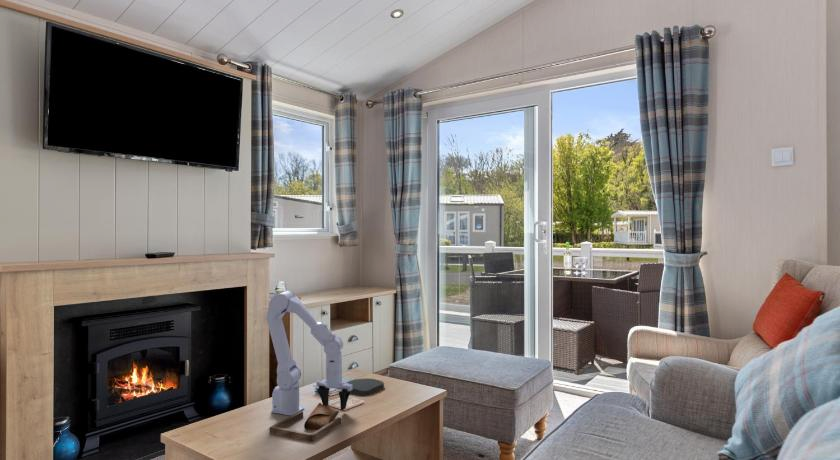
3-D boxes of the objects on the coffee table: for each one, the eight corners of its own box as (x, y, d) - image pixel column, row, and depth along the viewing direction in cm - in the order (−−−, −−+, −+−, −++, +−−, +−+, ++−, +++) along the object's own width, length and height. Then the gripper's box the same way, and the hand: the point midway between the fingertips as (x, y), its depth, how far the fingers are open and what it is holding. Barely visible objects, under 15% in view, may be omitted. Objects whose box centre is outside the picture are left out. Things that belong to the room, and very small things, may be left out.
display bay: (269, 433, 166) (269, 427, 166) (300, 416, 181) (300, 411, 181) (313, 441, 159) (312, 435, 159) (341, 423, 174) (341, 417, 174)
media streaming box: (365, 397, 202) (365, 390, 202) (338, 391, 210) (338, 384, 210) (387, 388, 214) (387, 380, 214) (361, 382, 222) (361, 375, 222)
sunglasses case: (329, 429, 168) (318, 412, 168) (311, 440, 168) (301, 423, 168) (339, 410, 186) (330, 395, 186) (323, 420, 186) (314, 404, 186)
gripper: (311, 371, 184) (311, 408, 184) (344, 376, 179) (345, 414, 179) (322, 366, 191) (322, 402, 191) (355, 370, 185) (355, 407, 185)
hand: (334, 408), depth 185 cm, fingers open, 7 cm apart
